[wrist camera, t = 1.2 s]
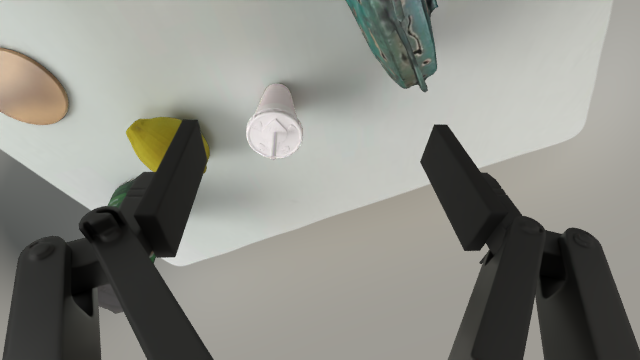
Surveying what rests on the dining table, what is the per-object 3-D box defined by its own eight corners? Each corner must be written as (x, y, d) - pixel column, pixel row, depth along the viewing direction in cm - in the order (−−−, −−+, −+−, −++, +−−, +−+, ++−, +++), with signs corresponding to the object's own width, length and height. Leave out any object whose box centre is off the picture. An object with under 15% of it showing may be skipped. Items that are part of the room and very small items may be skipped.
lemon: (227, 145, 45) (218, 181, 39) (189, 166, 47) (175, 203, 42) (170, 87, 38) (148, 120, 33) (129, 115, 41) (102, 151, 35)
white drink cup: (303, 76, 39) (308, 138, 28) (298, 119, 43) (300, 186, 33) (253, 70, 38) (239, 132, 27) (253, 114, 42) (241, 182, 32)
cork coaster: (-41, 87, 36) (-45, 89, 36) (-20, 27, 32) (-24, 28, 32) (53, 135, 42) (50, 137, 41) (81, 89, 38) (79, 91, 37)
